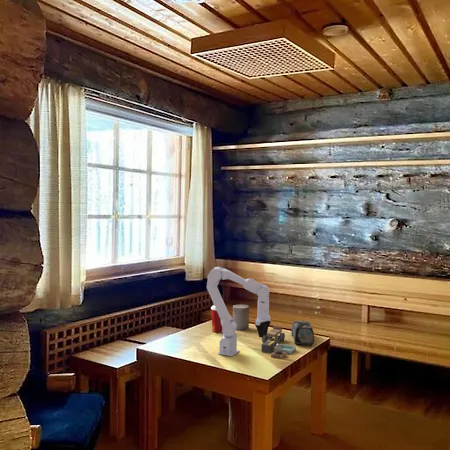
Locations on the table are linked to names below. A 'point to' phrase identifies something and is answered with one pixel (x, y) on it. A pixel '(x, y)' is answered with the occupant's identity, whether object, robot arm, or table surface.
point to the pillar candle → (241, 316)
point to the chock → (268, 346)
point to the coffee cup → (216, 321)
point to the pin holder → (278, 355)
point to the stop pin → (278, 349)
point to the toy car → (302, 332)
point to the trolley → (274, 335)
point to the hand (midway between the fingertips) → (262, 336)
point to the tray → (287, 349)
